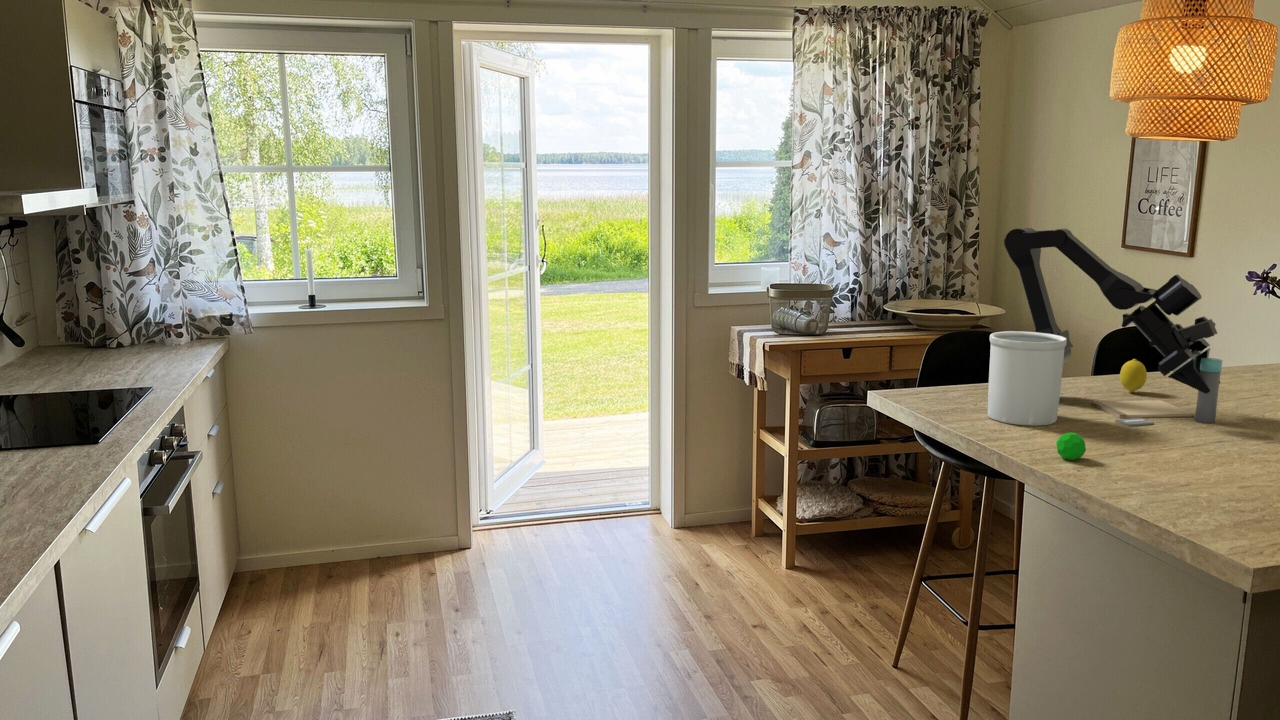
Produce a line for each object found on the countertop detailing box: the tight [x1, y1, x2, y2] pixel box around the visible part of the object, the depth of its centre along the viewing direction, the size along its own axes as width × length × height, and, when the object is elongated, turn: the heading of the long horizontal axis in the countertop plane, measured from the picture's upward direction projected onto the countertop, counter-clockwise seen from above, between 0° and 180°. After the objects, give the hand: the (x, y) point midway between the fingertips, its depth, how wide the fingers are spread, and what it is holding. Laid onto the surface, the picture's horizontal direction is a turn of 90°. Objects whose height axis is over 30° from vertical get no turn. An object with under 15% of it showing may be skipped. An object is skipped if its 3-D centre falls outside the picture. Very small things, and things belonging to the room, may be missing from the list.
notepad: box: [1090, 399, 1194, 419], centre depth 211 cm, size 16×12×1 cm
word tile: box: [1114, 417, 1155, 427], centre depth 201 cm, size 6×4×1 cm, turn 103°
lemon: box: [1119, 358, 1148, 394], centre depth 226 cm, size 6×6×8 cm
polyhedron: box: [1055, 431, 1087, 461], centre depth 176 cm, size 5×5×5 cm
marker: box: [1194, 357, 1223, 425], centre depth 200 cm, size 4×4×13 cm
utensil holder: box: [987, 330, 1067, 427], centre depth 204 cm, size 15×15×18 cm
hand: (1213, 388), depth 199 cm, fingers open, 9 cm apart
